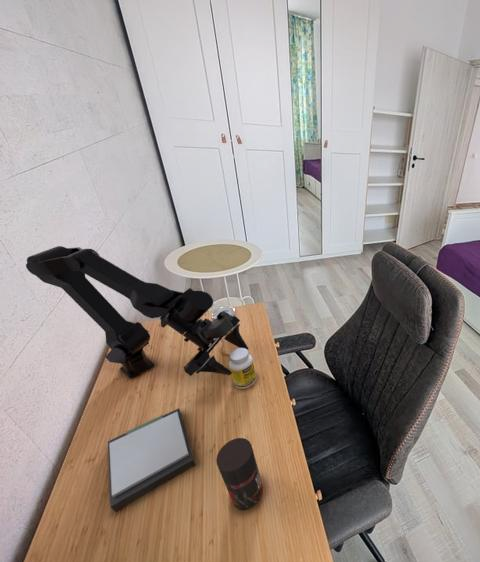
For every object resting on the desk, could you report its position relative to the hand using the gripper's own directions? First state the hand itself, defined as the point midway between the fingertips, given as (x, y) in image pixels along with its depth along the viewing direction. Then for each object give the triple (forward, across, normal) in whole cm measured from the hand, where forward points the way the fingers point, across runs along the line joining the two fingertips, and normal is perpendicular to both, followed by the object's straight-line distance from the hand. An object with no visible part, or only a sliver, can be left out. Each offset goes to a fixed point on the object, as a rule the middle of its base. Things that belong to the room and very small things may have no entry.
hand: (239, 361), depth 79 cm
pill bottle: (+6, 0, +6) cm, 8 cm away
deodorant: (+16, -27, -4) cm, 32 cm away
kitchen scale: (-1, -23, +13) cm, 26 cm away
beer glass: (-2, +12, +13) cm, 18 cm away
